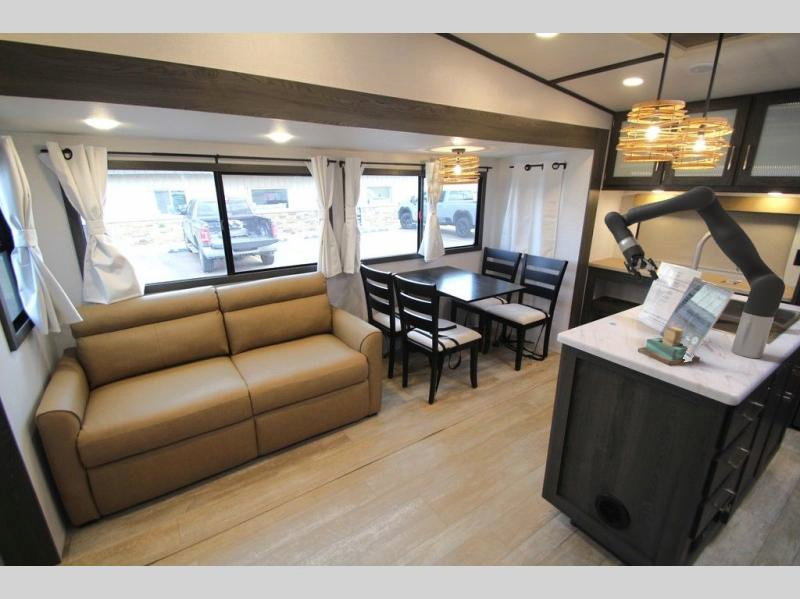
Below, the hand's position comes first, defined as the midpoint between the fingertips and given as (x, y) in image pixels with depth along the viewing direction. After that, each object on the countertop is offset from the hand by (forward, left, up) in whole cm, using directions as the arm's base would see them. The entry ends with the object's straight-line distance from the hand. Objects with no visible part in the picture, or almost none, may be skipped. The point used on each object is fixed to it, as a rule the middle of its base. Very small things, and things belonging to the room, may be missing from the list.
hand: (648, 279), depth 157 cm
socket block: (+5, +19, -27) cm, 33 cm away
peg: (+5, +19, -25) cm, 32 cm away
